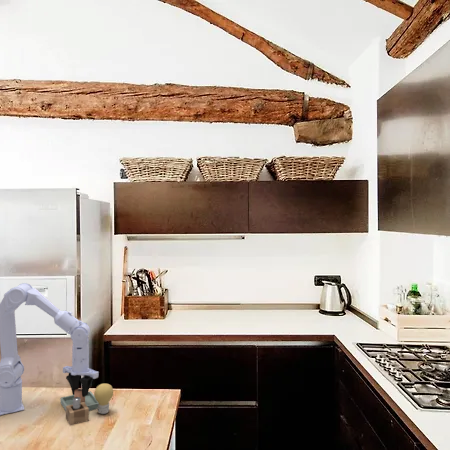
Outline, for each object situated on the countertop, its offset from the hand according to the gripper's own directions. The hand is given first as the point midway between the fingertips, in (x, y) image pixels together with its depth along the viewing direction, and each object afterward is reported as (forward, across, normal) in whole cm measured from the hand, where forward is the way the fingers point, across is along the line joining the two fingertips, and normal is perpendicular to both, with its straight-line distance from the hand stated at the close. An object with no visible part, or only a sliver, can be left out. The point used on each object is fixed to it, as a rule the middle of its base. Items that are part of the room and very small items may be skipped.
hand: (80, 394), depth 151 cm
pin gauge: (+4, +6, -9) cm, 11 cm away
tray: (+4, 0, 0) cm, 4 cm away
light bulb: (+4, +11, -1) cm, 12 cm away
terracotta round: (+3, 0, 0) cm, 3 cm away
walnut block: (+4, +6, -9) cm, 11 cm away
